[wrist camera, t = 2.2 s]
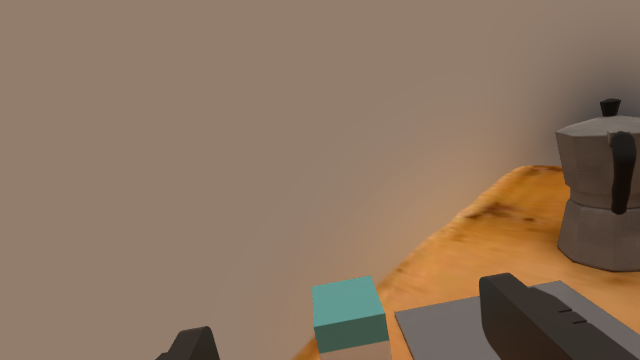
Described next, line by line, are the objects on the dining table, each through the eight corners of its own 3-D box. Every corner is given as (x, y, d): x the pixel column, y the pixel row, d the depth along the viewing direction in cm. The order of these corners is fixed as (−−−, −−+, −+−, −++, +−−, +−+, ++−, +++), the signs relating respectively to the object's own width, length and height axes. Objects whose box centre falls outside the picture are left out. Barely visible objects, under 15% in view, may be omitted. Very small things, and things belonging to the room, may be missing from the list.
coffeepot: (554, 226, 46) (553, 100, 41) (647, 231, 40) (656, 86, 36) (559, 286, 34) (558, 116, 29) (693, 305, 28) (714, 99, 24)
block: (388, 382, 26) (370, 275, 24) (404, 437, 22) (384, 313, 20) (334, 392, 26) (312, 286, 24) (340, 449, 22) (313, 326, 20)
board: (560, 283, 34) (560, 280, 34) (776, 434, 18) (777, 429, 18) (395, 315, 34) (394, 312, 34) (470, 493, 18) (470, 488, 18)
